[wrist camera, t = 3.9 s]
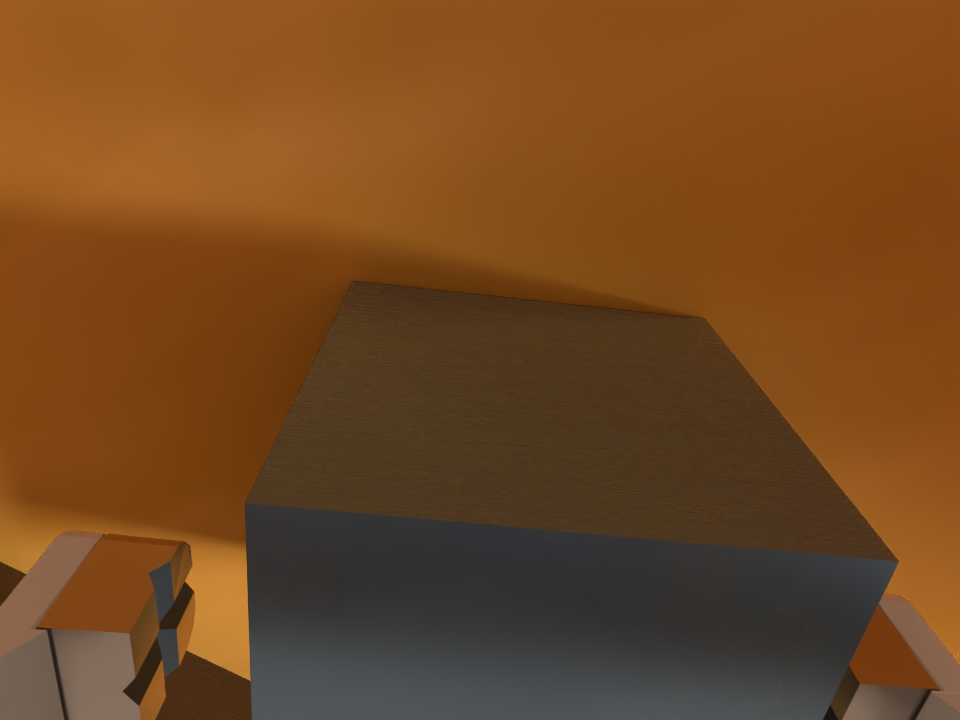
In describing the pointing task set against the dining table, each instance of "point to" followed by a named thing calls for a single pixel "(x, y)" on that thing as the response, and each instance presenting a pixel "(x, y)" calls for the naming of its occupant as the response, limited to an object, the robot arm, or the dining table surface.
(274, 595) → the slate grey cube
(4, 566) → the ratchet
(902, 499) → the dining table surface
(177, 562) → the robot arm
